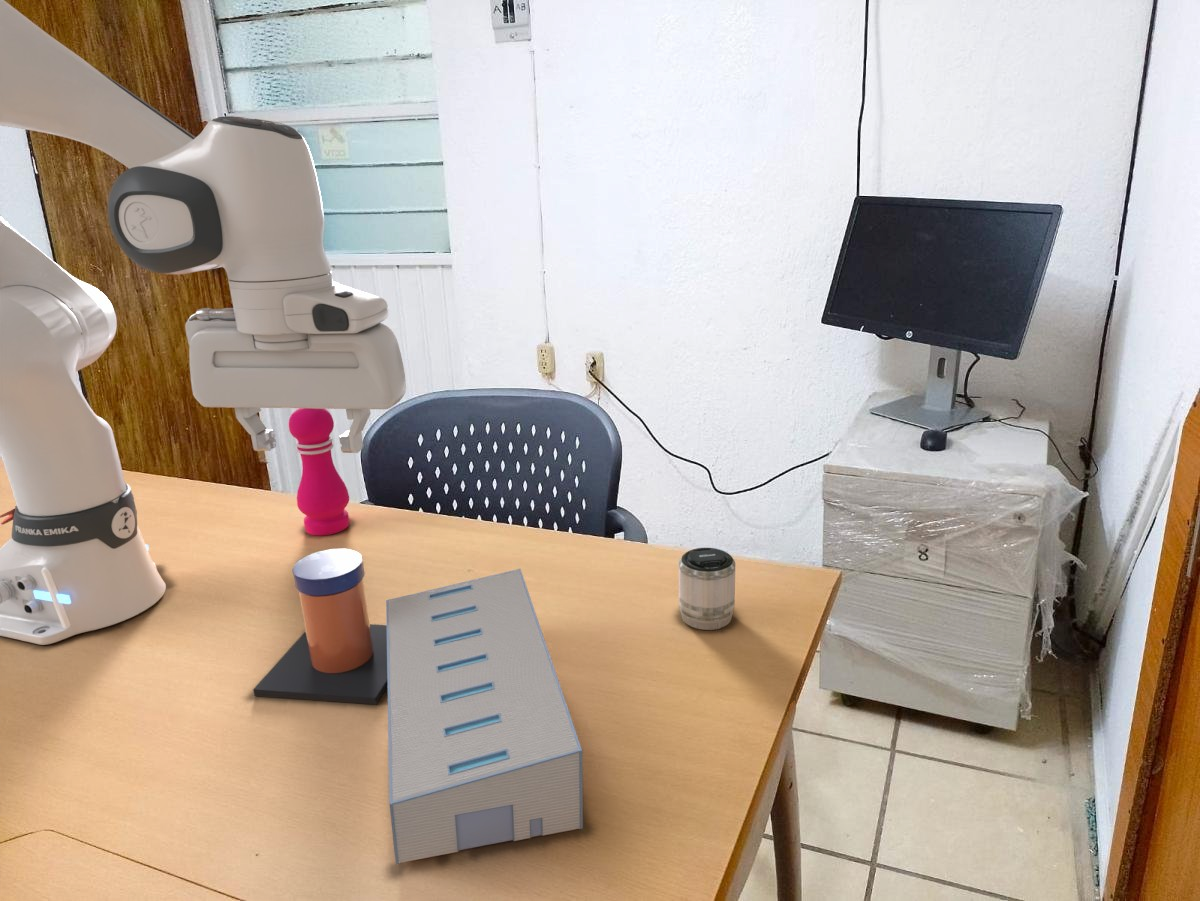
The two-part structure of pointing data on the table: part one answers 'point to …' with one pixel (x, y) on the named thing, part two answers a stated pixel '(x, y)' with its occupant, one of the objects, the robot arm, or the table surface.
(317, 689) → the mat
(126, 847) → the table surface
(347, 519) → the pepper mill
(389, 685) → the warehouse
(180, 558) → the table surface
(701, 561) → the camera lens
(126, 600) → the robot arm
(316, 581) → the jam lid
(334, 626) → the jam jar
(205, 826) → the table surface
